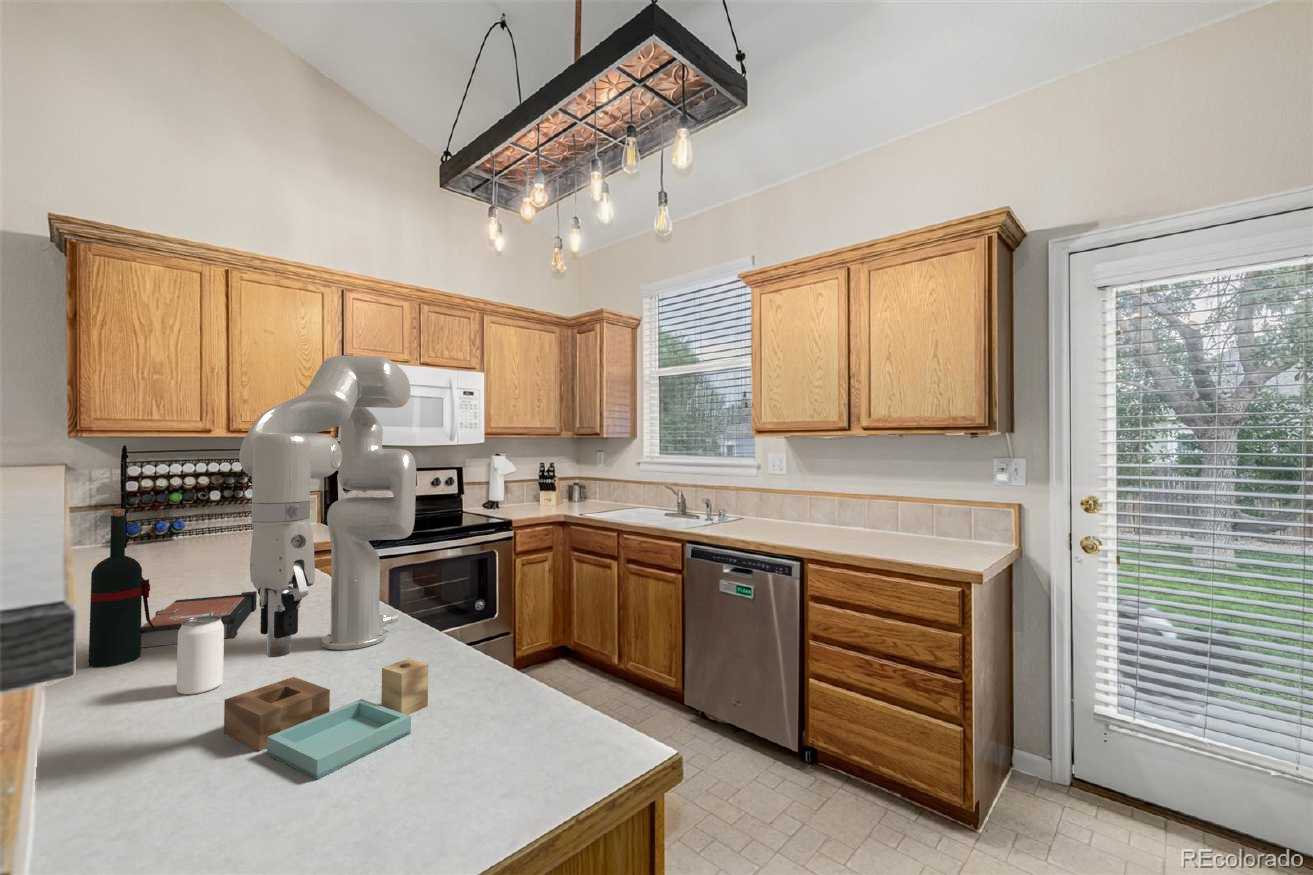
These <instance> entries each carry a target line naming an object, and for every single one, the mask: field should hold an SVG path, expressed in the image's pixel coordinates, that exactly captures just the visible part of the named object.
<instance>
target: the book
mask: <svg viewBox="0 0 1313 875" xmlns="http://www.w3.org/2000/svg"><path fill="white" fill-rule="evenodd" d="M257 595H258V591H257V590H255V591H243V592H241V594H231V595H221V596H218V595H217V596H207V597H198V598H197V597H196V598H194V597H193V598H186V599H176V600H175V601H173V602H172V603H171V604H169V606H168V605H167V607H165V608H164V609H160V610H157V611H155V616H154V617H152V618H150V621H151V623H152V625H153V626H154V628H155V629H156V630H155V629H154V628H152V627H151V626H150V624H149V623H148V621H146V623H145V624H143V625H141V650H144V649H152V648H161V647H170V646H178V631H179V629H180V628H181V626H182V624H181V623H182V622H183V621H185V620H187V619H191V618H195V617H201V616H220V617H221V621H222V623H223V625H224V641H225V640H232V639H235V637H236V636H237V635H238V630H239V629H240V628H241V626H242V625H243V624H244V622H245V621H246V620H247V619H248V617H249V616H250V614H251V613H254V612H255V611H256V610H257V602H258V601H257V599H258V598H257Z"/></svg>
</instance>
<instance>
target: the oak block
mask: <svg viewBox="0 0 1313 875" xmlns="http://www.w3.org/2000/svg"><path fill="white" fill-rule="evenodd" d="M428 699H429V663H426V662H423V661H419V660H417V659H416V660H415V659H413V658H410V657H409V658H406V659H403V660H399V661H397V662H393V663H391V664H389V665H387V666H384V667H381V699H380V700H381V702H380V703H381V705H380V706H383V707H385V708H388V709H391V710H394V711H397V712H400V713H402V714H405V715H408V716H410V715H412V714H414V713H416V712H419V711H420V710H422V709H423V710H424V709H426V708H427V707H428V706H429V705H428V704H429V702H428V701H429V700H428Z"/></svg>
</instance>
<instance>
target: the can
mask: <svg viewBox="0 0 1313 875" xmlns="http://www.w3.org/2000/svg"><path fill="white" fill-rule="evenodd" d="M181 624H182V626H181V628H180V629H179V631H178V645H177V648H176V649H177V650H176V651H177V652H176V654H177V655H176V656H177V657H176V658H177V659H176V661H177V662H176V692H177V693H178V694H180V695H185V696H193V695H199V694H204V693H207V692H208V693H209V692H211V691H214V690H215V689H217V688H219V687H221V685H222V684H223V682H224V658H225V657H224V655H225V654H224V651H225V650H224V649H225V644H224V643H225V640H224V625H223V623H222V621H221V617H220V616H201V617H195V618H191V619H187V620H185V621H183V622H182V623H181Z"/></svg>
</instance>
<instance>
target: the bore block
mask: <svg viewBox="0 0 1313 875" xmlns="http://www.w3.org/2000/svg"><path fill="white" fill-rule="evenodd" d="M330 693H331V689H329V688H326V687H323V686H321V685H317V684H315V683H312V682H309V681H307V680H304V679H301V678H298V677H296V676H292V677H289V678H286V679H283V680H279V681H277V682H274V683H271V684H267V685H264V686H261V687H259V688H255V689H253V690H250V691H246V692H243V693H239V694H237V695H235V696H231V697H228V698H225V699H224V703H223V704H224V709H223V710H224V712H223V714H224V715H223V734H224V735H226V736H229V737H230V738H233V739H234V740H236V741H238V742H241V743H243V744H244V745H246V746H249V747H250V748H253V749H255V750H256V751H259V752H261V751H264V750H265V749H267V737H268V736H270V735H273V734H275V733H278V732H280V731H283V730H285V729H288V728H290V727H293V726H295V725H298V724H300V723H303V722H305V721H308V720H310V719H313V718H315V717H318V716H320V715H323V714H325V713H328V712H330V705H331V704H330V699H331V698H330V697H331V696H330V695H331V694H330Z"/></svg>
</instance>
